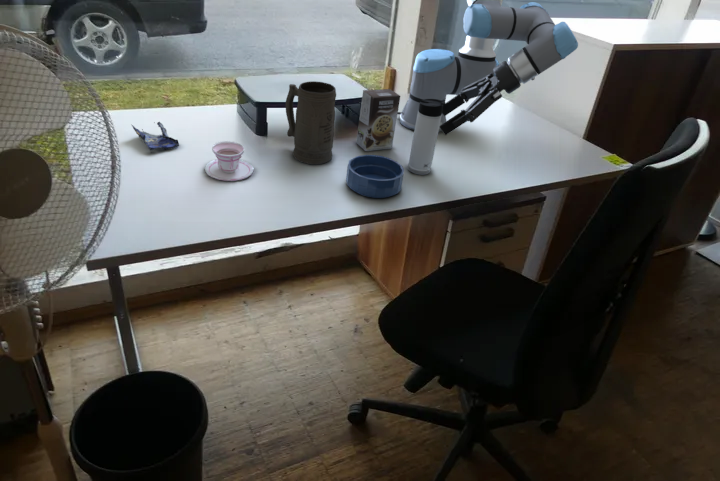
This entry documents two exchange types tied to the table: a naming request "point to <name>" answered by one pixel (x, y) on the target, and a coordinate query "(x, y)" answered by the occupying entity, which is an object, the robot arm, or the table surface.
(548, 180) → the table surface
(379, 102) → the cookie box
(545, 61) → the robot arm
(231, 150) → the teacup
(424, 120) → the travel mug
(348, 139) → the table surface
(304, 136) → the beer stein
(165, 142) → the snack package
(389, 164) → the bowl
